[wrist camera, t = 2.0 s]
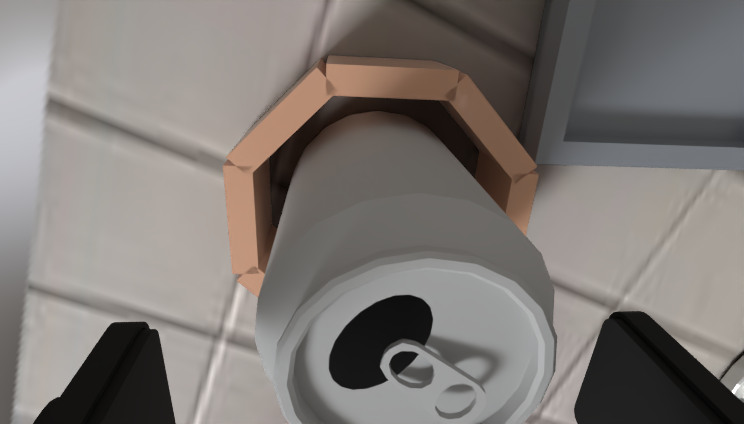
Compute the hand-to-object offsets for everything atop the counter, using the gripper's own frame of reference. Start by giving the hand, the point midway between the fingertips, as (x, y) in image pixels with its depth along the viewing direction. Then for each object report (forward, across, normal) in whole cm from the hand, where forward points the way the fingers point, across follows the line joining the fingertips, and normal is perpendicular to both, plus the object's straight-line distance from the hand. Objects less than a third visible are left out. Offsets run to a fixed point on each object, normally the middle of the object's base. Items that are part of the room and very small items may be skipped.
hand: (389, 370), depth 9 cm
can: (+12, -1, 0) cm, 12 cm away
